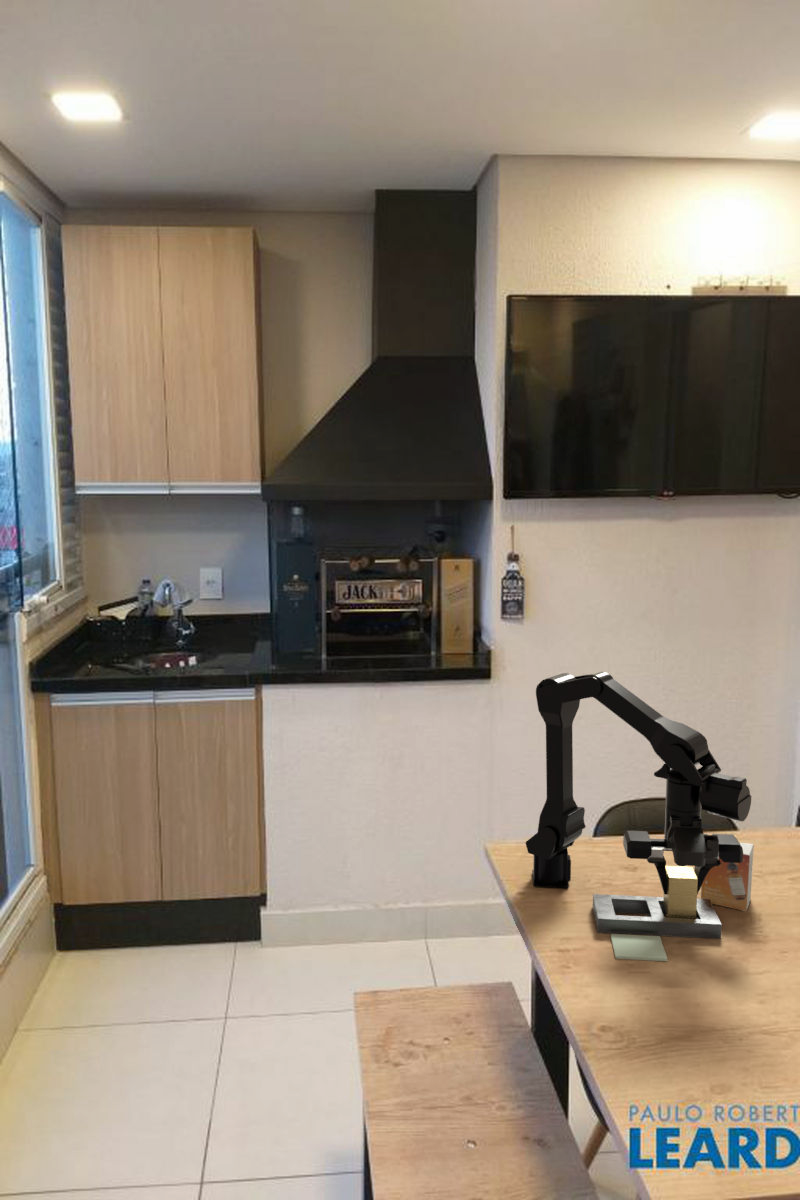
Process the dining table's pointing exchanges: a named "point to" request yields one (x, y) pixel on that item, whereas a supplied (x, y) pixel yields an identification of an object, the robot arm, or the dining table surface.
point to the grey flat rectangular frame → (652, 917)
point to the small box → (730, 882)
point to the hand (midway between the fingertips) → (680, 894)
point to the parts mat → (638, 947)
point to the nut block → (681, 892)
